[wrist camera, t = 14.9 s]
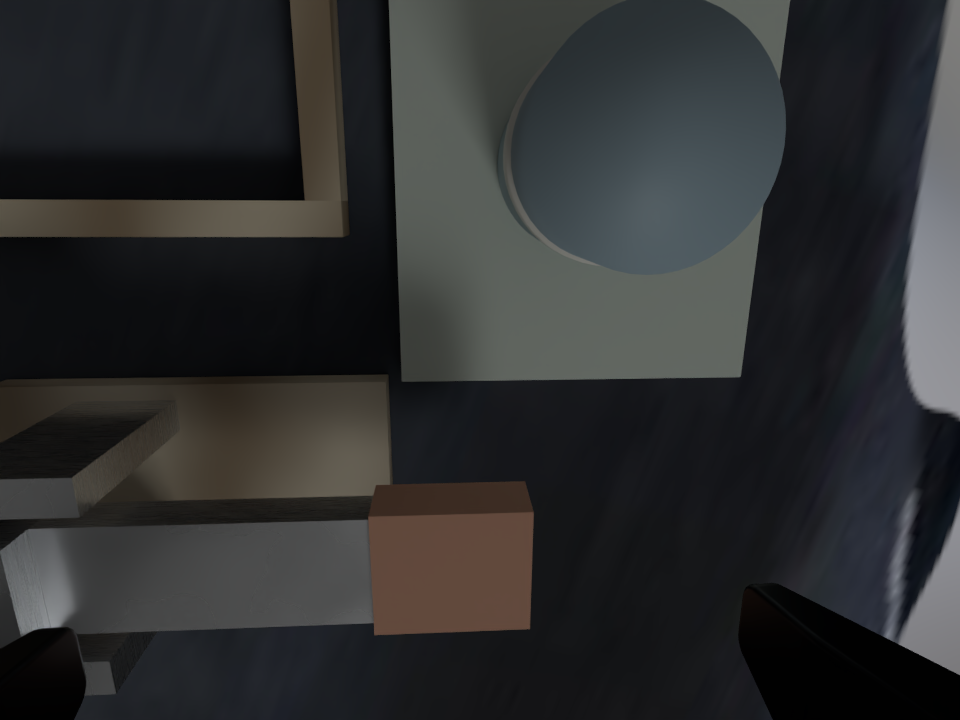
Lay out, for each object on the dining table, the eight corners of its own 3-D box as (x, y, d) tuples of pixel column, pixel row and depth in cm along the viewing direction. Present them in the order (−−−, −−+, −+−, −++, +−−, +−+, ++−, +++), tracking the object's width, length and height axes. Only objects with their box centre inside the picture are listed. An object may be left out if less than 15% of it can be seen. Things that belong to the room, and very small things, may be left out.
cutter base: (50, 570, 20) (-109, 720, 14) (6, 379, 18) (-197, 462, 12) (395, 559, 21) (376, 698, 15) (388, 374, 19) (363, 451, 13)
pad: (403, 374, 19) (402, 381, 18) (388, -90, 15) (385, -104, 15) (728, 370, 20) (740, 377, 19) (784, -76, 16) (801, -90, 15)
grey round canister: (492, 254, 17) (517, 279, 11) (495, 63, 16) (525, -19, 10) (662, 255, 18) (770, 280, 12) (679, 68, 16) (811, -8, 10)
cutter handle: (-82, 593, 16) (-197, 679, 13) (-116, 484, 15) (-246, 550, 12) (518, 573, 17) (533, 649, 14) (521, 470, 16) (538, 528, 13)
